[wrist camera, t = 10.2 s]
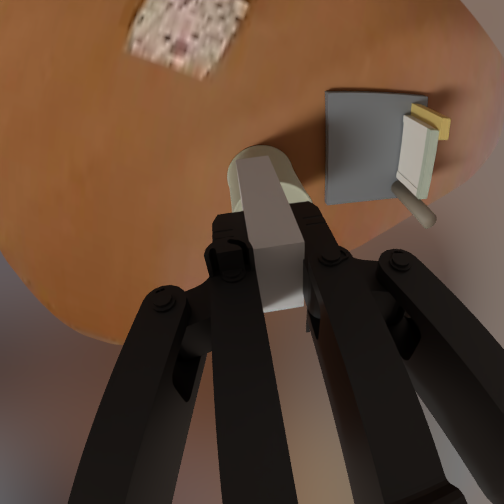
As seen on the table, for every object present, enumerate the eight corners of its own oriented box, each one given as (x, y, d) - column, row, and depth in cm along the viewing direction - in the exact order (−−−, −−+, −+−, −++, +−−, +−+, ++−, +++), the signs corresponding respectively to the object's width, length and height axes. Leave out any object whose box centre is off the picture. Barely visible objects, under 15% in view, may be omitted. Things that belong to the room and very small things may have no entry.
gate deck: (325, 91, 35) (360, 109, 27) (423, 95, 36) (471, 117, 27) (324, 201, 46) (350, 244, 38) (411, 192, 46) (447, 229, 38)
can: (214, 185, 43) (215, 234, 33) (252, 132, 38) (266, 166, 29) (267, 214, 46) (281, 266, 37) (305, 167, 42) (333, 210, 33)
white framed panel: (403, 177, 43) (426, 198, 37) (396, 177, 43) (418, 199, 37) (411, 115, 36) (439, 130, 31) (403, 115, 36) (430, 130, 31)
